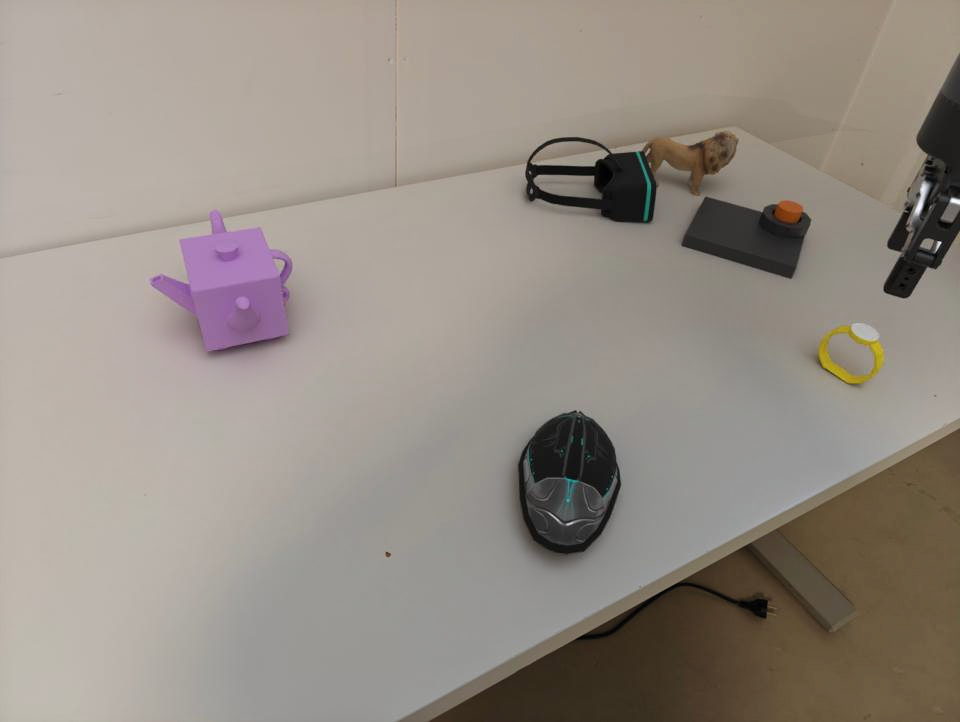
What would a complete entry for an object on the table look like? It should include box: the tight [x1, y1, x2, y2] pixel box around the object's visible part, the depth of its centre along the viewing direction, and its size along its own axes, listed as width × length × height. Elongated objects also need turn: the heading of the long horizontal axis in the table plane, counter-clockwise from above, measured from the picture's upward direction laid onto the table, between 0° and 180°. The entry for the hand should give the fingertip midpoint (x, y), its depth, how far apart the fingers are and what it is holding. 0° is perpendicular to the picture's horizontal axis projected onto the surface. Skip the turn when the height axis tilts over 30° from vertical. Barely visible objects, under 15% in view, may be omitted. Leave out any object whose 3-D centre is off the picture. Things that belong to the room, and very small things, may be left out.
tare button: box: [774, 199, 804, 223], centre depth 90 cm, size 3×3×2 cm
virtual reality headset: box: [524, 136, 658, 222], centre depth 94 cm, size 11×17×10 cm, turn 89°
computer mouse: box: [517, 409, 622, 555], centre depth 57 cm, size 9×17×6 cm, turn 168°
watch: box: [817, 322, 885, 385], centre depth 71 cm, size 6×3×6 cm, turn 40°
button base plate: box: [681, 196, 812, 280], centre depth 91 cm, size 14×13×4 cm
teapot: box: [149, 209, 293, 352], centre depth 68 cm, size 18×13×10 cm
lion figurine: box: [641, 130, 740, 197], centre depth 100 cm, size 15×5×9 cm, turn 79°
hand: (895, 271), depth 64 cm, fingers open, 8 cm apart
